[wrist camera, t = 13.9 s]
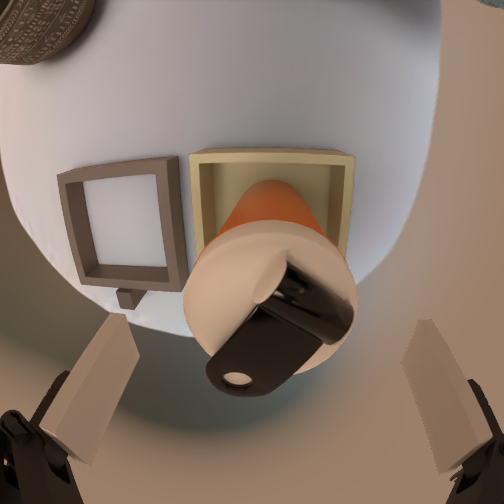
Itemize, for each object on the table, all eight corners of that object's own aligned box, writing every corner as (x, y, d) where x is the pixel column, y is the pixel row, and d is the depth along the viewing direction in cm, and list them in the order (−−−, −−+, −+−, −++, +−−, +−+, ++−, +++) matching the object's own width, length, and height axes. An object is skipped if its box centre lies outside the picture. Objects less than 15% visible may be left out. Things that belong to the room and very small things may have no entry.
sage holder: (205, 148, 27) (189, 154, 22) (338, 150, 26) (354, 156, 21) (212, 267, 33) (201, 295, 28) (328, 269, 32) (338, 298, 27)
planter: (120, -34, 16) (57, -79, 3) (98, 54, 22) (7, 35, 9) (43, -4, 17) (-24, -20, 3) (24, 77, 23) (-55, 81, 9)
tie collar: (73, 169, 29) (52, 176, 25) (177, 156, 28) (162, 161, 24) (98, 286, 36) (83, 303, 32) (191, 293, 35) (182, 314, 31)
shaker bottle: (215, 229, 30) (146, 371, 12) (252, 155, 27) (212, 215, 9) (287, 264, 32) (300, 424, 14) (329, 196, 28) (414, 316, 10)
